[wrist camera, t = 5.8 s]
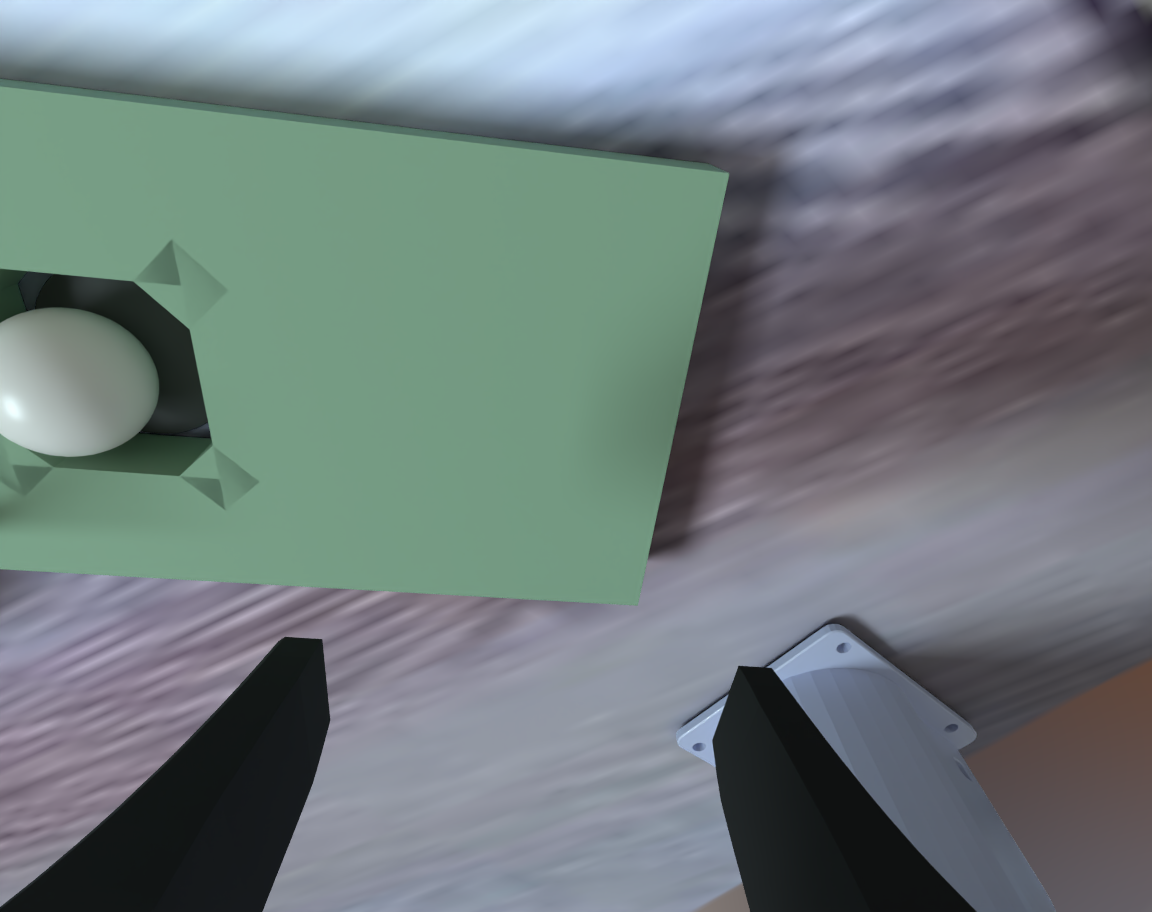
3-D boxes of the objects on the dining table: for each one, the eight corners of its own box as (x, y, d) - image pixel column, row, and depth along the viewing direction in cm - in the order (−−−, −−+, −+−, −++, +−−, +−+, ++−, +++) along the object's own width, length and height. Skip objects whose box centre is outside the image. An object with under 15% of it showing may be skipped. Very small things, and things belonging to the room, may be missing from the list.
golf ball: (51, 332, 17) (191, 339, 17) (34, 463, 16) (179, 467, 17) (-65, 277, 13) (114, 288, 14) (-91, 441, 13) (95, 447, 13)
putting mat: (708, 163, 15) (884, 244, 7) (630, 562, 21) (678, 846, 13) (-316, 40, 13) (-1624, -37, 5) (-80, 517, 19) (-522, 817, 11)
